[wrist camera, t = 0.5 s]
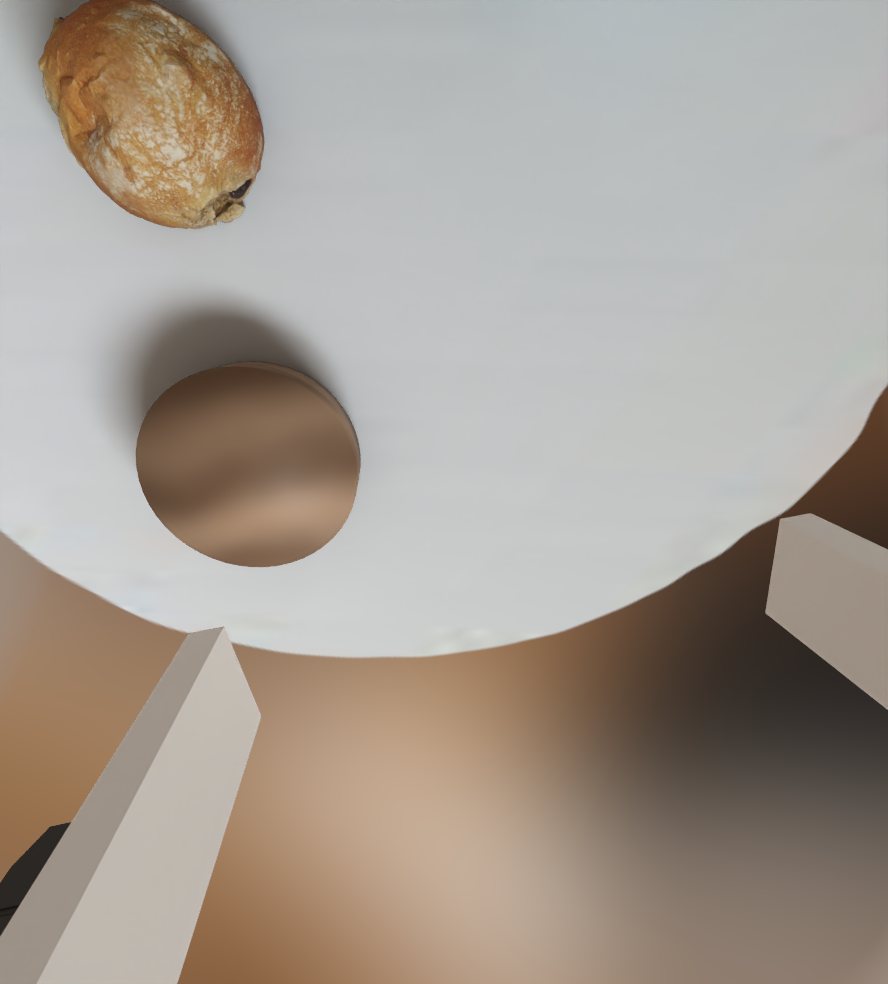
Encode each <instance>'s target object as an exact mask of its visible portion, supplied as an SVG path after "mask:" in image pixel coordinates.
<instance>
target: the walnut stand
mask: <svg viewBox="0 0 888 984" xmlns="http://www.w3.org/2000/svg"><path fill="white" fill-rule="evenodd" d="M136 466H137V472H138V477H139V481H140V484H141V487H142V490H143V493H144V495H145V497H146V499H147V501H148V503H149V505H150V507H151V508H152V510H153V511H154V513H155V514H156V516H157V517H158V518H159V520H160V521H161V522H162V523H163V524H164V525H165V527H166V528H167V529H168V530H169V531H171V532H172V533H173V534H174V535H175V536H176V537H177V538H178V539H180V540H181V541H182V542H184V543H185V544H186V545H188V546H190V547H191V548H193V549H195V550H196V551H198V552H200V553H202V554H204V555H206V556H209V557H211V558H213V559H216V560H219V561H222V562H225V563H230V564H234V565H239V566H248V567H270V566H278V565H283V564H287V563H291V562H294V561H297V560H300V559H302V558H305V557H306V556H308V555H310V554H312V553H314V552H316V551H317V550H319V549H320V548H322V547H323V546H324V545H326V544H327V543H328V542H329V541H330V540H331V539H332V538H333V537H334V536H335V535H336V534H337V533H338V531H339V530H340V529H341V528H342V526H343V524H344V523H345V521H346V520H347V518H348V516H349V513H350V511H351V509H352V506H353V503H354V499H355V496H356V490H357V485H358V480H359V473H360V449H359V443H358V439H357V435H356V432H355V430H354V427H353V425H352V422H351V420H350V419H349V417H348V415H347V414H346V412H345V410H344V409H343V407H342V406H341V405H340V404H339V402H338V401H337V400H336V399H335V398H334V397H333V396H332V395H331V394H330V393H329V392H328V391H327V390H326V389H325V388H324V387H322V386H321V385H320V384H319V383H317V382H316V381H314V380H313V379H311V378H310V377H308V376H306V375H305V374H302V373H300V372H298V371H296V370H294V369H291V368H288V367H285V366H282V365H278V364H273V363H267V362H253V361H251V362H238V363H233V364H228V365H224V366H220V367H217V368H213V369H209V370H206V371H202V372H199V373H197V374H194V375H191V376H189V377H187V378H185V379H183V380H181V381H179V382H178V383H176V384H174V385H173V386H172V387H171V388H169V389H168V390H167V391H165V392H164V393H163V394H162V395H161V396H160V397H159V398H158V399H157V400H156V401H155V403H154V404H153V406H152V407H151V409H150V410H149V411H148V413H147V415H146V417H145V419H144V421H143V423H142V425H141V429H140V432H139V436H138V439H137V448H136Z"/></svg>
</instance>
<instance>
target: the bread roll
mask: <svg viewBox="0 0 888 984" xmlns="http://www.w3.org/2000/svg"><path fill="white" fill-rule="evenodd" d="M39 69H40V70H41V71H42V72H43V87H44V89H45V93H46V98H47V100H48V102H49V103H50V105H51V107H52V110H53V111H54V113H55V114H56V115H57V116H58V117H59V124H60V128H61V132H62V135H63V138H64V140H65V142H66V144H67V146H68V148H69V151H70V152H71V153H72V154H73V155H74V156H75V158H76V160H77V162H78V164H79V165H80V166H81V167H82V168H84V169H85V170H86V172H87V173H88V174H89V176H90V177H91V178H92V180H93V181H94V182H95V183H96V185H97V186H98V187H99V188H100V189H101V190H102V191H103V192H104V193H105V194H106V195H107V196H109V197H110V198H111V199H112V200H113V201H114V202H115V203H116V204H117V205H119V206H120V207H122V208H123V209H125V210H126V211H127V212H129V213H130V214H133V215H135V216H137V217H140V218H143V219H145V220H147V221H150V222H153V223H156V224H159V225H162V226H166V227H170V228H185V229H188V228H191V229H201V228H203V227H206V226H211V225H216V223H217V221H222V222H224V223H228V222H231V221H233V220H234V219H236V218H238V217H239V216H241V214H242V213H243V211H244V209H245V208H246V207H245V206H244V205H243V203H242V201H243V199H244V198H245V197H246V195H247V194H248V192H249V190H250V188H251V186H252V184H253V182H254V181H255V178H256V174H257V172H258V171H259V170H260V167H261V160H262V155H263V150H264V134H263V127H262V122H261V118H260V114H259V111H258V108H257V105H256V102H255V100H254V98H253V95H252V93H251V91H250V89H249V87H248V86H247V84H246V82H245V81H244V79H243V78H242V76H241V74H240V73H239V71H238V70H237V68H236V67H235V65H234V64H233V62H232V61H231V60H230V58H229V57H228V56H227V55H226V54H225V53H224V52H223V51H222V50H221V49H220V48H219V47H218V46H217V45H216V44H215V43H214V42H213V40H212V39H210V38H209V37H208V36H207V35H206V34H205V33H203V32H202V31H201V30H199V29H198V28H196V27H195V26H194V25H192V24H191V23H190V22H188V21H187V20H186V19H184V18H183V17H181V16H179V15H177V14H174V13H173V12H171V11H170V10H168V9H166V8H164V7H163V6H162V5H160V4H159V3H157V2H154V1H152V0H90V1H88V2H86V3H85V4H83V5H81V6H80V7H79V8H78V9H77V10H76V11H74V12H73V13H72V14H71V15H69V16H67V17H66V18H65V19H63V18H62V17H60V18H59V19H55V22H54V27H53V30H52V32H51V35H50V39H49V40H48V41H47V43H46V45H45V48H44V54H43V55H42V57H41V58H40V60H39Z"/></svg>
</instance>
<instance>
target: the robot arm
mask: <svg viewBox="0 0 888 984" xmlns="http://www.w3.org/2000/svg"><path fill="white" fill-rule="evenodd" d="M766 614H767V615H769V616H770V617H771V618H772V619H774V620H775V621H776V622H778V623H779V624H780V625H781V626H782V627H784V628H785V629H786V630H788V631H789V632H790V633H791V634H793V635H794V636H795V637H796V638H798V639H799V640H800V641H801V642H803V643H804V644H805V645H807V646H808V647H809V648H810V649H812V650H813V651H814V652H815V653H817V654H818V655H819V656H821V657H822V658H823V659H824V660H826V661H827V662H828V663H829V664H831V665H832V666H833V667H834V668H836V669H837V670H838V671H839V672H841V673H842V674H843V675H844V676H846V677H847V678H848V679H850V680H851V681H852V682H853V683H855V684H856V685H857V686H858V687H860V688H861V689H862V690H863V691H865V692H866V693H867V694H869V695H870V696H871V697H872V698H874V699H875V700H876V701H877V702H879V703H880V704H881V705H882V706H884V707H885V708H886V709H888V550H887V549H885V548H883V547H881V546H879V545H876V544H875V543H873V542H870V541H868V540H866V539H864V538H862V537H860V536H858V535H856V534H853V533H851V532H849V531H847V530H845V529H842V528H841V527H839V526H836V525H834V524H832V523H830V522H828V521H826V520H824V519H821V518H819V517H817V516H815V515H813V514H805V515H799V516H794V517H789V518H784V519H780V524H779V530H778V537H777V543H776V550H775V556H774V562H773V568H772V575H771V581H770V587H769V594H768V600H767V607H766ZM260 718H261V715H260V712H259V710H258V707H257V705H256V702H255V700H254V698H253V695H252V693H251V690H250V688H249V686H248V683H247V681H246V678H245V676H244V674H243V671H242V669H241V666H240V664H239V662H238V659H237V657H236V654H235V652H234V650H233V647H232V645H231V642H230V640H229V638H228V635H227V633H226V630H225V628H224V627H219V628H214V629H209V630H203V631H198V632H193V633H189V634H188V636H187V637H186V639H185V641H184V642H183V644H182V645H181V647H180V649H179V650H178V652H177V653H176V655H175V657H174V658H173V660H172V661H171V663H170V665H169V666H168V668H167V669H166V671H165V673H164V674H163V676H162V677H161V679H160V681H159V682H158V684H157V685H156V687H155V689H154V690H153V692H152V694H151V695H150V697H149V698H148V700H147V702H146V703H145V705H144V707H143V708H142V710H141V711H140V713H139V715H138V716H137V718H136V719H135V721H134V723H133V724H132V726H131V727H130V729H129V731H128V732H127V734H126V735H125V737H124V739H123V740H122V742H121V743H120V745H119V747H118V748H117V750H116V751H115V753H114V755H113V756H112V758H111V759H110V761H109V763H108V764H107V766H106V767H105V769H104V771H103V772H102V774H101V775H100V777H99V779H98V780H97V782H96V784H95V785H94V787H93V789H92V790H91V792H90V793H89V795H88V796H87V798H86V800H85V801H84V803H83V804H82V806H81V808H80V809H79V811H78V812H77V814H76V816H75V817H74V819H73V821H72V822H70V823H65V824H61V825H56V826H51V827H49V828H48V830H47V831H46V832H45V833H44V834H43V835H42V836H41V837H40V838H39V839H38V840H37V841H36V842H35V843H34V844H33V845H32V846H31V847H30V848H29V849H28V850H27V851H26V852H25V853H24V854H23V856H21V857H20V858H19V860H18V861H17V862H16V863H15V864H14V865H13V866H12V867H11V868H10V870H9V871H8V872H7V874H6V875H5V877H4V878H3V880H2V881H1V883H0V984H177V982H178V979H179V976H180V973H181V970H182V966H183V963H184V960H185V957H186V954H187V951H188V947H189V944H190V941H191V938H192V935H193V931H194V928H195V925H196V922H197V918H198V915H199V912H200V909H201V906H202V903H203V900H204V896H205V893H206V890H207V887H208V884H209V880H210V877H211V874H212V871H213V868H214V865H215V861H216V858H217V855H218V852H219V849H220V846H221V842H222V839H223V836H224V833H225V830H226V826H227V823H228V820H229V817H230V814H231V811H232V807H233V804H234V801H235V798H236V794H237V791H238V788H239V785H240V782H241V778H242V776H243V772H244V769H245V766H246V763H247V760H248V757H249V753H250V750H251V747H252V744H253V741H254V737H255V734H256V731H257V728H258V724H259V721H260Z"/></svg>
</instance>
